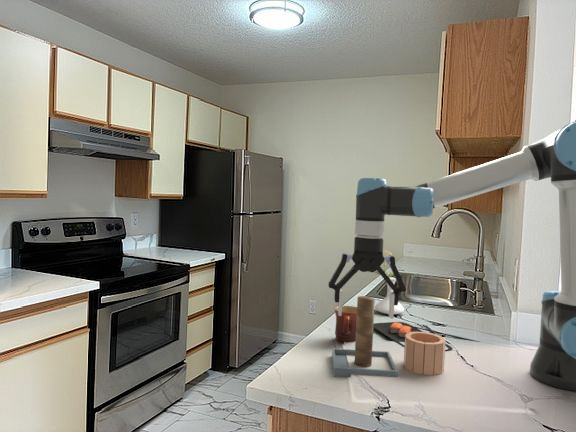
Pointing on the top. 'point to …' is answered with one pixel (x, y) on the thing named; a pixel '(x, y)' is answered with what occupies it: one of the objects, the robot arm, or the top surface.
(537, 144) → the robot arm
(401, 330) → the sushi plate
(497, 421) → the top surface
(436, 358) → the cup
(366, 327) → the peg
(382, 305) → the flower in vase
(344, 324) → the mug
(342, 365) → the tray
